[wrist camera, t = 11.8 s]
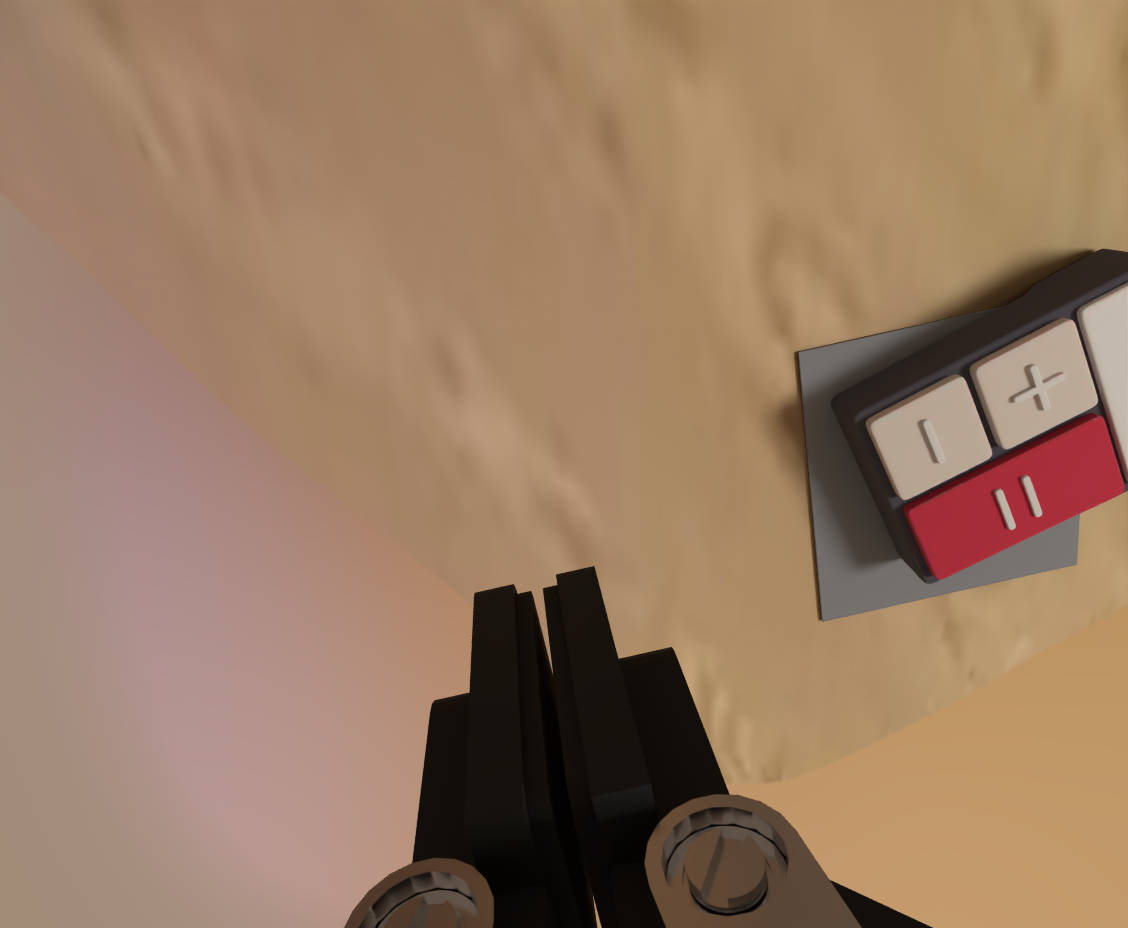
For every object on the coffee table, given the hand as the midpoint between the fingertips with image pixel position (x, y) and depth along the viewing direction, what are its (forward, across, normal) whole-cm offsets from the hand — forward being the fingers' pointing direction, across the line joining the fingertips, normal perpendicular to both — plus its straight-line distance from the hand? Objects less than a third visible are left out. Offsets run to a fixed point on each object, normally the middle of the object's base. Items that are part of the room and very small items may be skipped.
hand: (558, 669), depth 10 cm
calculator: (+27, -24, +10) cm, 37 cm away
